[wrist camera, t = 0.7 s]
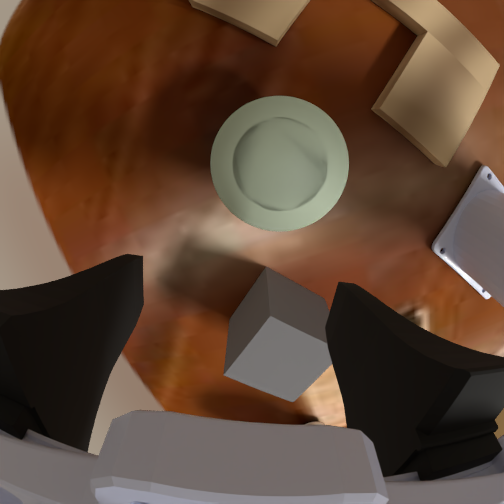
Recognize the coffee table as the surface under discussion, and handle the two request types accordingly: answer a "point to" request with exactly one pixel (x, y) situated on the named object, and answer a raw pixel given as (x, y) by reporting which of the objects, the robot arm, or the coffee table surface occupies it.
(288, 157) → the bobbin
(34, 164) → the coffee table surface
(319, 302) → the block
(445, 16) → the notched board
